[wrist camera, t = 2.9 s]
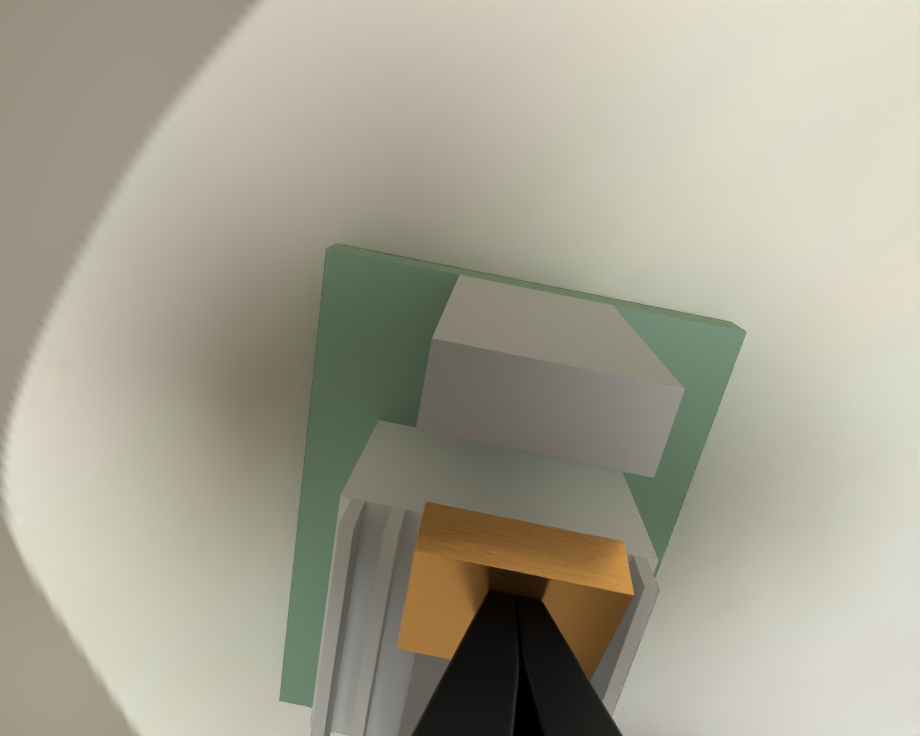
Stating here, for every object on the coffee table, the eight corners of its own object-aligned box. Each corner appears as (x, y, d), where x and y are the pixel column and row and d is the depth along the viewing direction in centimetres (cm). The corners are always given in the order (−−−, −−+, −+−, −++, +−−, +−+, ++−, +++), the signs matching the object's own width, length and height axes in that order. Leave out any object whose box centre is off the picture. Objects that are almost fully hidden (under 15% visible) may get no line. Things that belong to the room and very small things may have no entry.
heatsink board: (581, 736, 20) (623, 1025, 14) (289, 676, 21) (180, 933, 14) (731, 322, 15) (926, 445, 8) (336, 243, 15) (198, 299, 8)
